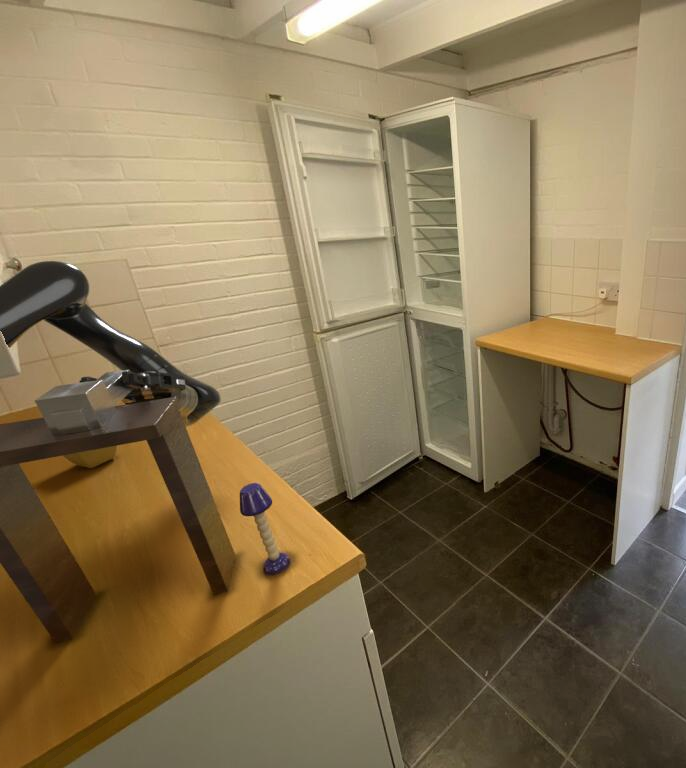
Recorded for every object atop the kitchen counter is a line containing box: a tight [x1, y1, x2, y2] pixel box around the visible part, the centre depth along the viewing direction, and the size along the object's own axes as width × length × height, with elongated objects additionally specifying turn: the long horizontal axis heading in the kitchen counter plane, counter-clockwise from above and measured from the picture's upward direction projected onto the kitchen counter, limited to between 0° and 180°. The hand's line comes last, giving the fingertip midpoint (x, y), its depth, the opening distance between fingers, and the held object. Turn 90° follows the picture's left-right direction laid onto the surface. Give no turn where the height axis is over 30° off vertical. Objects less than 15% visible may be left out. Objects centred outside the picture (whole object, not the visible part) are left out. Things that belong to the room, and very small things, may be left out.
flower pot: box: [62, 445, 118, 469], centre depth 105 cm, size 9×9×9 cm
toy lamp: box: [239, 482, 291, 576], centre depth 71 cm, size 5×5×17 cm
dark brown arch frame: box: [0, 397, 237, 644], centre depth 62 cm, size 22×10×32 cm, turn 113°
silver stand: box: [34, 370, 134, 435], centre depth 60 cm, size 5×16×5 cm, turn 23°
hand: (105, 380), depth 63 cm, fingers open, 4 cm apart
